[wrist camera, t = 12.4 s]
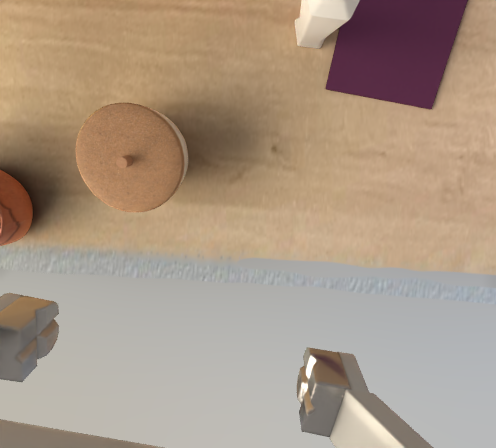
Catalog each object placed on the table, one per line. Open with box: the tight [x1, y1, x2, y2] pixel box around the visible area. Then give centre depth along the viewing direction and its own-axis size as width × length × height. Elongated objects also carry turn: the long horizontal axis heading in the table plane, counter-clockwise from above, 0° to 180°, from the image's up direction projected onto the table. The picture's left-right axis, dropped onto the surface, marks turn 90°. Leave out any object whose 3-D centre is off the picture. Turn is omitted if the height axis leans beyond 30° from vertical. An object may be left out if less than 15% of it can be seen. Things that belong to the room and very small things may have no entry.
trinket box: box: [76, 103, 188, 212], centre depth 35 cm, size 11×11×9 cm
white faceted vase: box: [295, 0, 360, 49], centre depth 28 cm, size 5×4×15 cm
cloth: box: [326, 0, 468, 109], centre depth 35 cm, size 12×11×1 cm
